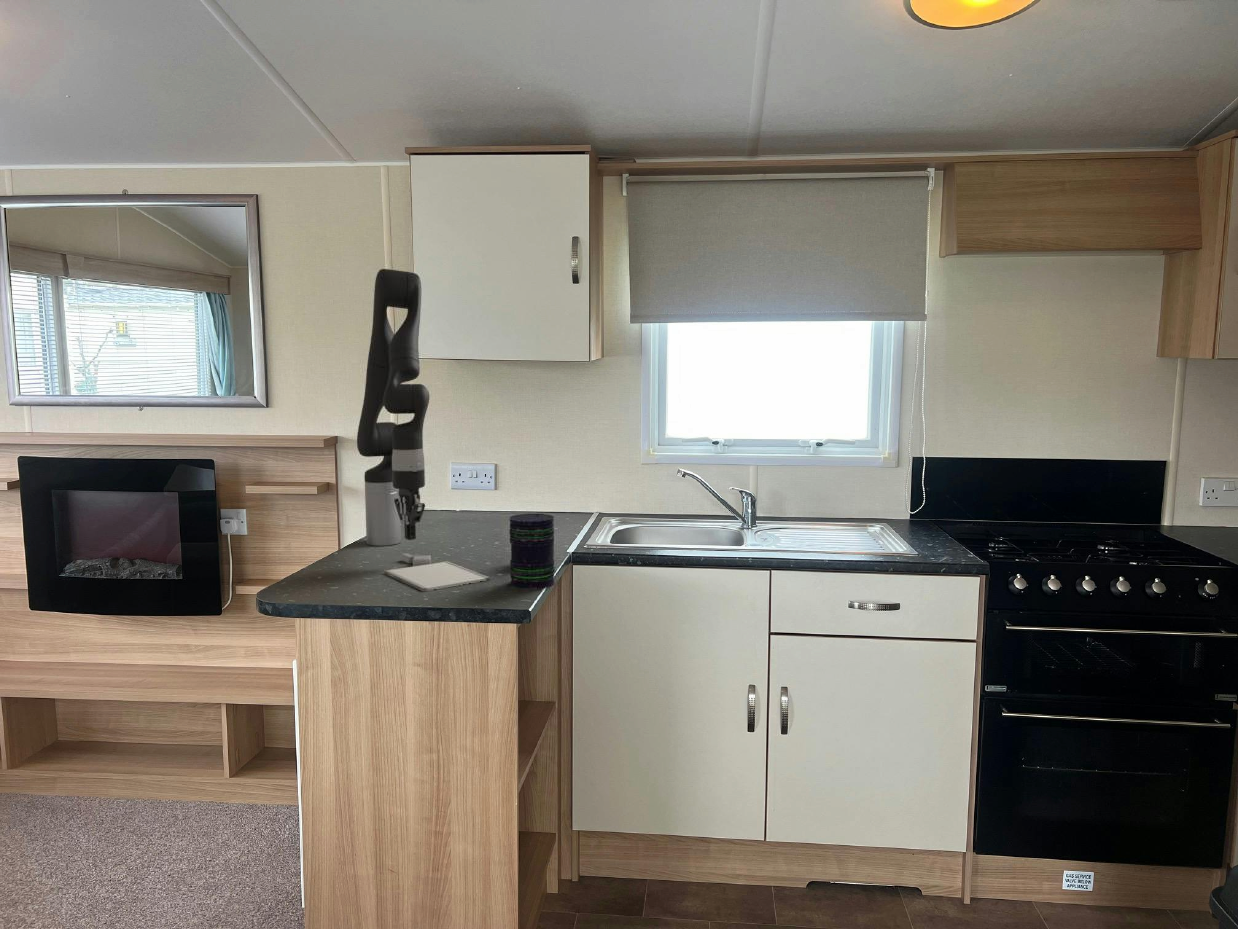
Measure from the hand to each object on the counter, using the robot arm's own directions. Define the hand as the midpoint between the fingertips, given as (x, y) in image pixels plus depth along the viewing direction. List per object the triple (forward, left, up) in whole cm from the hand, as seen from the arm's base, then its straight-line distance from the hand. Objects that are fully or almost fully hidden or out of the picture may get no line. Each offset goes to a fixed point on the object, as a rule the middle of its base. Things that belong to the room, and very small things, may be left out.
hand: (410, 539), depth 201 cm
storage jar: (+33, +14, -7) cm, 36 cm away
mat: (+14, 0, -7) cm, 15 cm away
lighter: (+1, +1, -6) cm, 6 cm away
